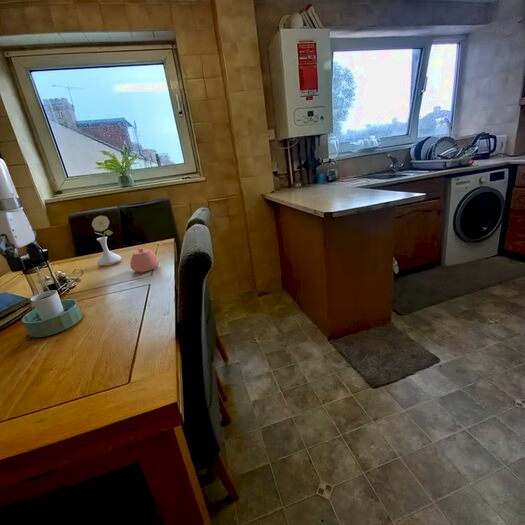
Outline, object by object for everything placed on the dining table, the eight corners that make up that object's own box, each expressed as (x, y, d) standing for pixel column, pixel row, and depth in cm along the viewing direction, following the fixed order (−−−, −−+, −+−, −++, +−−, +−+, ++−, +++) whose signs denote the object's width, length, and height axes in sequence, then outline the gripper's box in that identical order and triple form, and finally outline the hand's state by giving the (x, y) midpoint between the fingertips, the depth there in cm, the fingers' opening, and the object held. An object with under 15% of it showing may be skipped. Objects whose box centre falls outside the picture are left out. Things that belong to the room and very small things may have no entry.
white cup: (62, 316, 92) (51, 289, 88) (72, 320, 88) (61, 292, 85) (39, 327, 86) (26, 298, 83) (49, 331, 83) (36, 302, 80)
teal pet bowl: (19, 344, 80) (10, 327, 78) (43, 319, 93) (37, 304, 91) (72, 332, 82) (66, 316, 80) (89, 309, 95) (83, 295, 94)
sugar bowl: (136, 276, 120) (130, 254, 117) (128, 269, 131) (122, 249, 127) (164, 268, 127) (158, 246, 124) (154, 261, 138) (148, 242, 134)
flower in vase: (92, 268, 140) (75, 219, 132) (109, 260, 151) (94, 214, 142) (114, 267, 137) (98, 217, 128) (129, 259, 147) (115, 212, 139)
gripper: (7, 204, 82) (30, 258, 88) (-37, 213, 66) (-6, 278, 72) (35, 200, 83) (56, 254, 89) (-1, 208, 68) (26, 273, 74)
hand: (28, 265), depth 81 cm, fingers open, 9 cm apart
